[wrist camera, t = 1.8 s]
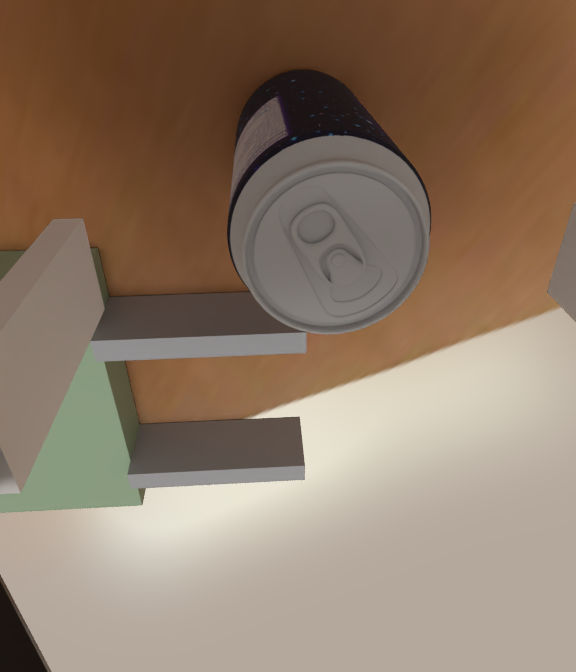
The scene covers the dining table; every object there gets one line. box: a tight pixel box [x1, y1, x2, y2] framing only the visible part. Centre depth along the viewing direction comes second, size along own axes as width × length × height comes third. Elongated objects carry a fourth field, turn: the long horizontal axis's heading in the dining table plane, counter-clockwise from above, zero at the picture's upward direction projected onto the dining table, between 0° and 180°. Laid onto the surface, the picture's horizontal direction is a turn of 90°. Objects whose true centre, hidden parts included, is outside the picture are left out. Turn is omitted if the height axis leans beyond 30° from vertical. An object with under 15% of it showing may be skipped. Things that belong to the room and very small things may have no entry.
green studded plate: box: [0, 248, 306, 513], centre depth 29 cm, size 16×22×4 cm
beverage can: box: [227, 70, 431, 334], centre depth 18 cm, size 6×6×12 cm
